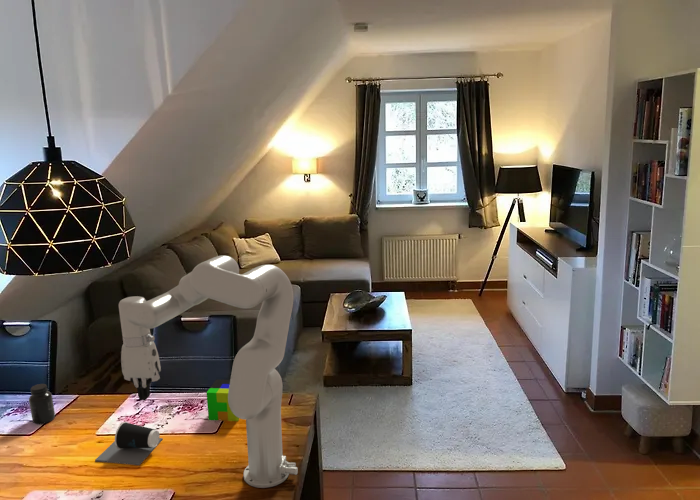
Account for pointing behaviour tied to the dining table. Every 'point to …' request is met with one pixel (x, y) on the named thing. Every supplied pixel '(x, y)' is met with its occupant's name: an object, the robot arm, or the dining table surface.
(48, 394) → the supplement bottle
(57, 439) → the dining table surface
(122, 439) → the dixie cup
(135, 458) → the charcoal mat
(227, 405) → the puzzle toy
